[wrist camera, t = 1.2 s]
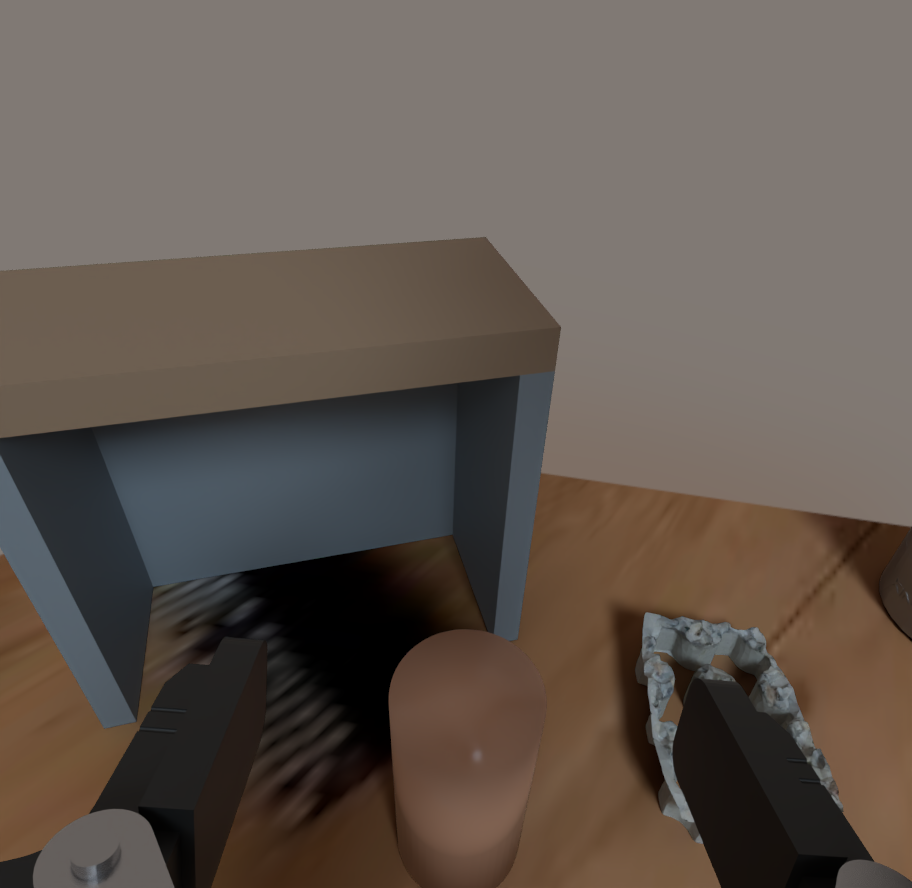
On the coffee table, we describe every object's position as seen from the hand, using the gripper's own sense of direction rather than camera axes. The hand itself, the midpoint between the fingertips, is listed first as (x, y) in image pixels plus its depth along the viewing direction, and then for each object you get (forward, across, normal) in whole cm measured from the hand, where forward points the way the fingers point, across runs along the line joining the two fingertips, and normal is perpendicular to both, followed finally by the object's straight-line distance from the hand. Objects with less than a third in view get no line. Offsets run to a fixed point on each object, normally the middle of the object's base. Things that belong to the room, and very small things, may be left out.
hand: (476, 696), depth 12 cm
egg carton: (+16, -15, +16) cm, 27 cm away
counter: (+24, +6, +15) cm, 29 cm away
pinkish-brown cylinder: (+12, -2, +18) cm, 21 cm away
